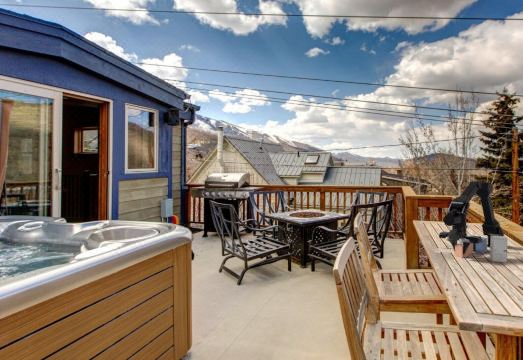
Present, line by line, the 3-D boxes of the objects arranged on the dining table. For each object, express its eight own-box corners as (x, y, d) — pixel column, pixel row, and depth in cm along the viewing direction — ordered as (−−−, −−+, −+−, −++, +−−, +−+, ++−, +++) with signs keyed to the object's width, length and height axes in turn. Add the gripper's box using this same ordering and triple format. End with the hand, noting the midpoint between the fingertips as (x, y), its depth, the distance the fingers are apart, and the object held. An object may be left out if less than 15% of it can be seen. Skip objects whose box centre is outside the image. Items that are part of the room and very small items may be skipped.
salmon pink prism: (466, 252, 177) (466, 241, 176) (473, 253, 174) (473, 242, 173) (454, 256, 169) (454, 245, 169) (462, 257, 166) (462, 246, 166)
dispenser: (466, 248, 184) (466, 235, 184) (486, 251, 176) (486, 238, 176) (460, 250, 180) (460, 237, 180) (481, 254, 172) (481, 240, 172)
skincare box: (493, 261, 159) (493, 237, 158) (489, 259, 163) (489, 235, 163) (507, 262, 157) (507, 237, 156) (504, 259, 161) (504, 235, 161)
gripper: (433, 223, 171) (433, 252, 171) (473, 228, 156) (473, 260, 156) (443, 221, 177) (444, 249, 178) (482, 225, 162) (482, 256, 163)
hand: (459, 253), depth 168 cm, fingers closed on salmon pink prism, 3 cm apart
